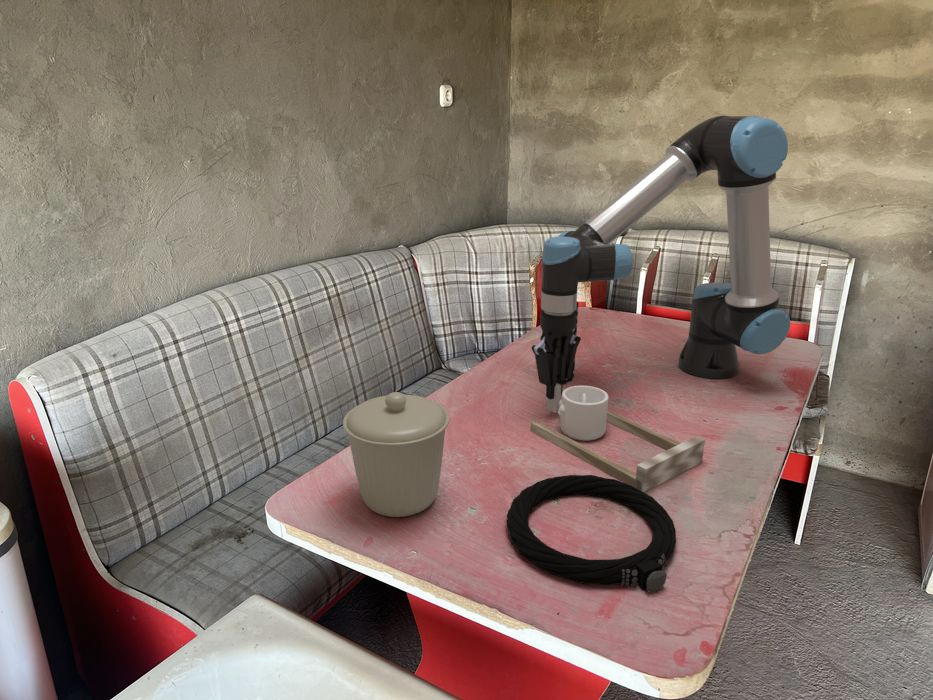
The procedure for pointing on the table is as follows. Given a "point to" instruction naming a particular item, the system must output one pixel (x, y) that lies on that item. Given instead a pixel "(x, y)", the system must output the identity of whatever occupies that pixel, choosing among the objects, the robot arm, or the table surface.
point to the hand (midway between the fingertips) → (553, 409)
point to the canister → (397, 451)
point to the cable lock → (626, 570)
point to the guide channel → (648, 471)
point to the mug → (583, 412)
